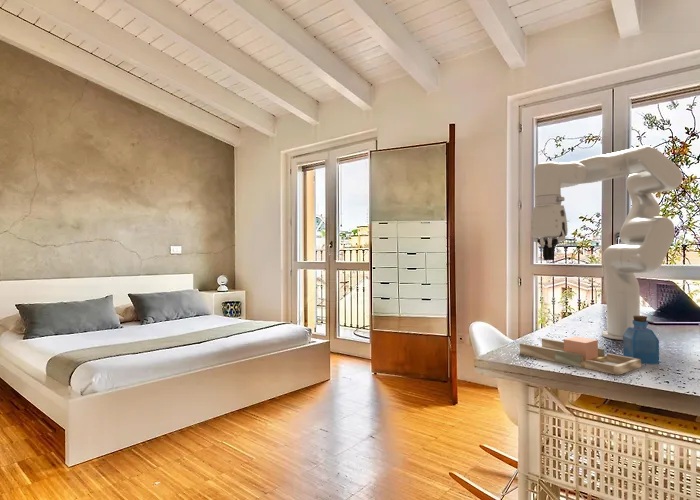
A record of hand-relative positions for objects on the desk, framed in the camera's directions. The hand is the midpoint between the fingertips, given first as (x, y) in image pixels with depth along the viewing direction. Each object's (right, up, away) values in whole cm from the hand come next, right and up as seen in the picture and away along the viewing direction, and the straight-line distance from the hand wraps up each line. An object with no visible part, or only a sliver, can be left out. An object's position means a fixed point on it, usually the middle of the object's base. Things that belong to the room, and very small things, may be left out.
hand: (548, 259), depth 137 cm
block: (0, -27, -20) cm, 34 cm away
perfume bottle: (+16, -27, -20) cm, 37 cm away
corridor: (-1, -27, -18) cm, 33 cm away
